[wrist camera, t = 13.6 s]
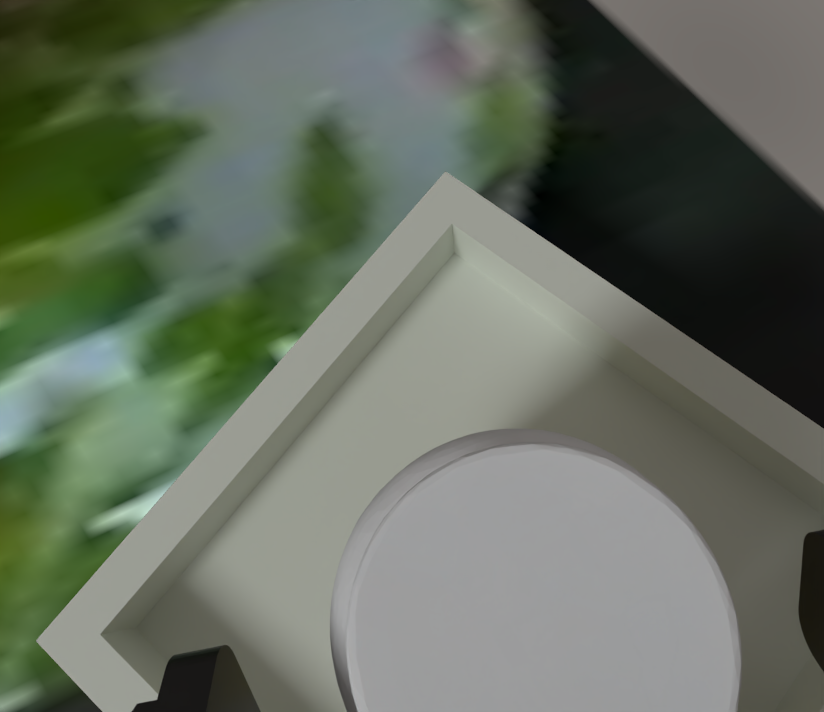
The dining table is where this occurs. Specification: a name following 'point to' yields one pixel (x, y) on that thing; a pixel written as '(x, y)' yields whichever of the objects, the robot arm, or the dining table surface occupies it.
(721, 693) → the supplement bottle
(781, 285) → the dining table surface
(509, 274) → the tray
